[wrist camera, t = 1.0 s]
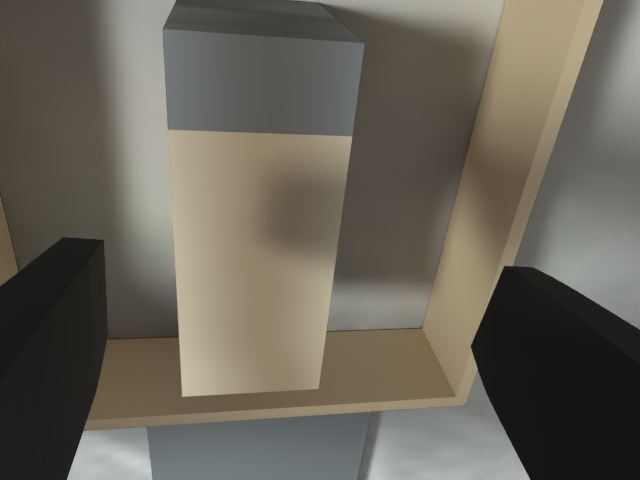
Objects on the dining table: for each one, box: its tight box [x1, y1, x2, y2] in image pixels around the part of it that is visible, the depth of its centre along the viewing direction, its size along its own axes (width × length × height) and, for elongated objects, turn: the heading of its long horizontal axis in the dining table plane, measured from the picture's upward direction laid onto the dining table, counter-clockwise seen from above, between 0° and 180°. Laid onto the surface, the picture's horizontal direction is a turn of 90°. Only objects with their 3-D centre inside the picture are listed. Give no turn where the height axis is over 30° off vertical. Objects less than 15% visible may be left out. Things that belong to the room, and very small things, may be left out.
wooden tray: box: [0, 0, 604, 431], centre depth 16 cm, size 22×17×4 cm
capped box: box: [163, 0, 365, 397], centre depth 15 cm, size 4×10×6 cm, turn 175°
